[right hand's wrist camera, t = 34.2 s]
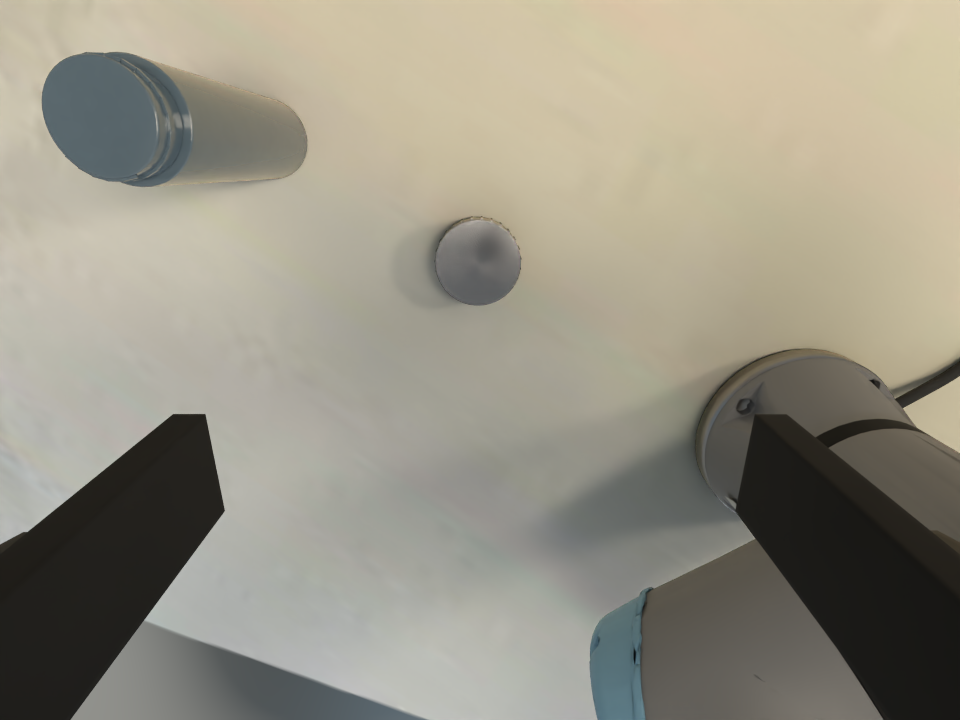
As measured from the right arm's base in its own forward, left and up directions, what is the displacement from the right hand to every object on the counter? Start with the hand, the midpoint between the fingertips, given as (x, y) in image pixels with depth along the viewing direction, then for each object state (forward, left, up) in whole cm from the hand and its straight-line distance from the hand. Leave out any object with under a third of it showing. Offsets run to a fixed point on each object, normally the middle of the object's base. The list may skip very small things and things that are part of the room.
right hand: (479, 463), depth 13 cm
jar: (+13, -11, -28) cm, 33 cm away
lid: (0, 0, -26) cm, 26 cm away
